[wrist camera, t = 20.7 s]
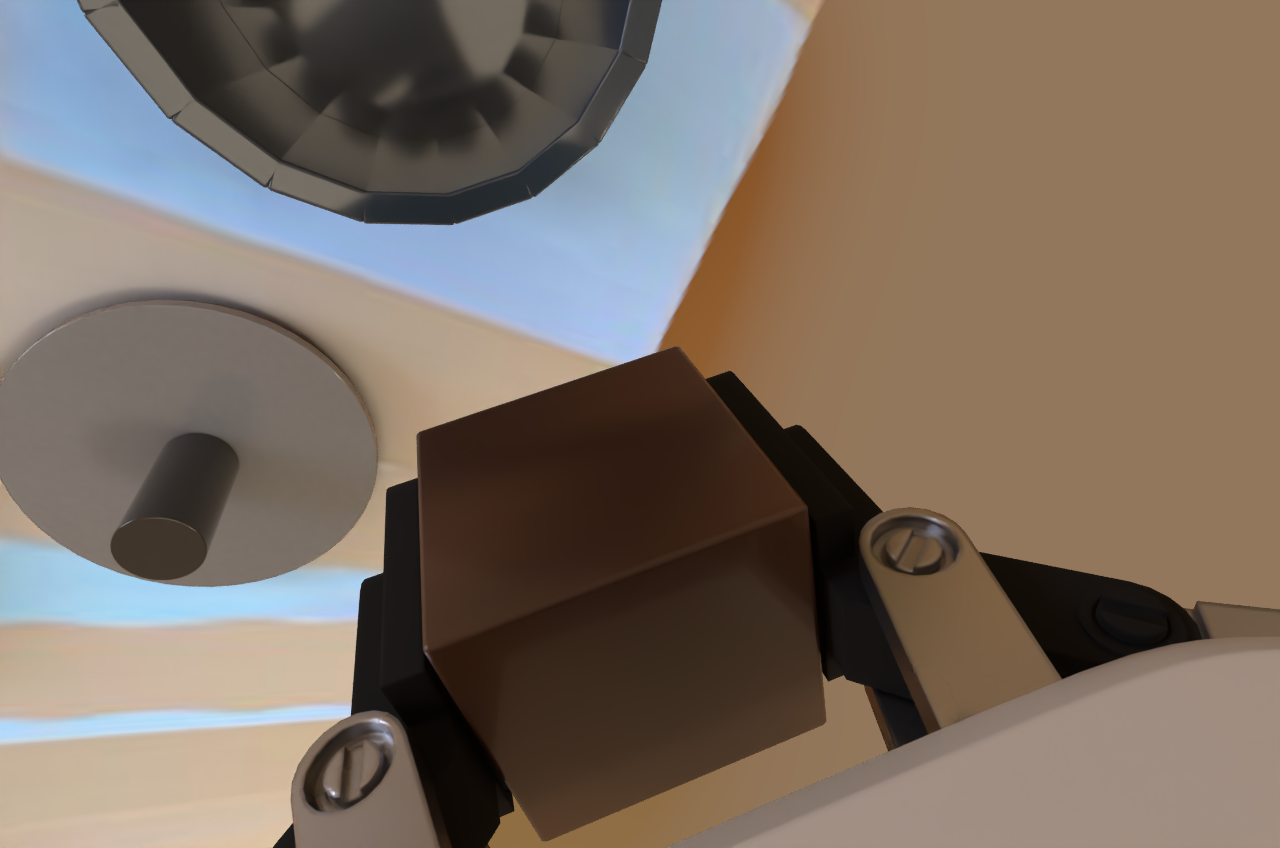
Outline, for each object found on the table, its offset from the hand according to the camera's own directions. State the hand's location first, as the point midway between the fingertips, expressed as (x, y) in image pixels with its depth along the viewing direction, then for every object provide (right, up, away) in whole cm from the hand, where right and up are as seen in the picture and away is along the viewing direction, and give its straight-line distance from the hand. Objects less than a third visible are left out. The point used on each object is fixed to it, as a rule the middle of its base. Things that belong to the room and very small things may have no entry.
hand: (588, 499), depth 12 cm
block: (0, 0, 0) cm, 0 cm away
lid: (-17, 0, +16) cm, 24 cm away
